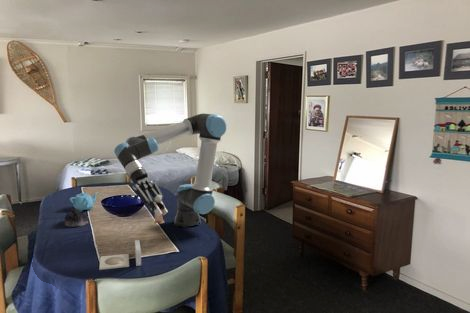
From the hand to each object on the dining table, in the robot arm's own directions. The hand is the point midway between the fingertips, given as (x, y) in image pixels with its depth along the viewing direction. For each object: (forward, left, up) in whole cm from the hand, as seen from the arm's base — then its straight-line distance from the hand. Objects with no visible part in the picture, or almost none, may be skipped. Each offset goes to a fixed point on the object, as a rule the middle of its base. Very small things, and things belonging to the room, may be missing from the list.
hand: (162, 214), depth 157 cm
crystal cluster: (+42, -57, -21) cm, 74 cm away
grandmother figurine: (+2, -2, -5) cm, 6 cm away
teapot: (+40, -84, -21) cm, 95 cm away
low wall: (+11, -3, -21) cm, 24 cm away
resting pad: (+21, -2, -21) cm, 30 cm away
